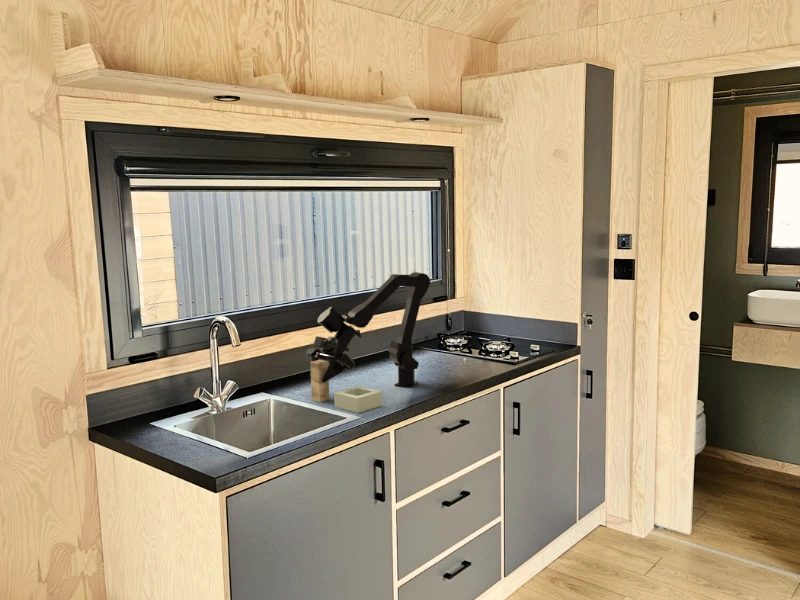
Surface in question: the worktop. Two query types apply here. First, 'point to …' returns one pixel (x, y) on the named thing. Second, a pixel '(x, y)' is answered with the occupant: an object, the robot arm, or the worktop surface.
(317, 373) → the peg
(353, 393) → the socket block
